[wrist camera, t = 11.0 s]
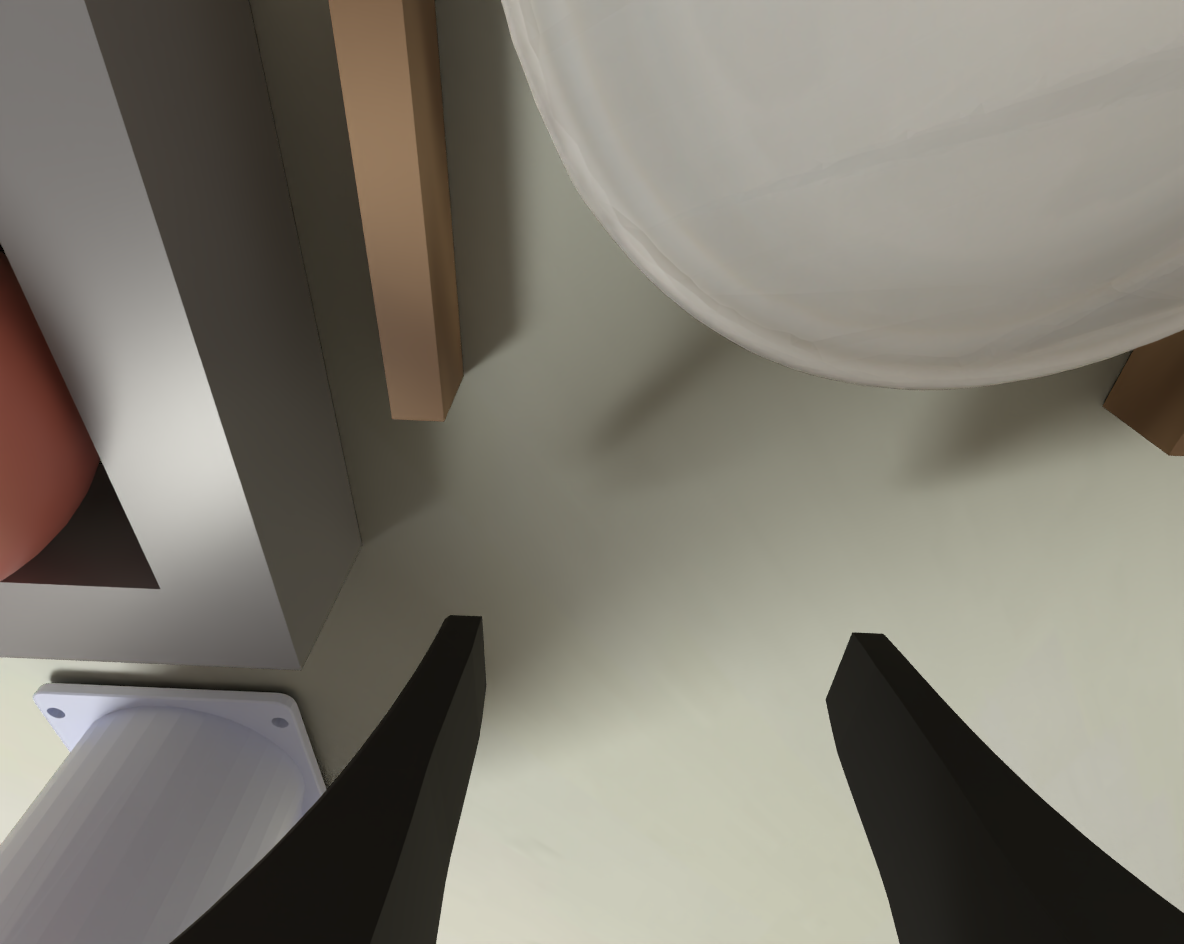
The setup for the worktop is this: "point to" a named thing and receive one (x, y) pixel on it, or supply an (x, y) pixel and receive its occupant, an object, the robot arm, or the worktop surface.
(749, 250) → the ramekin
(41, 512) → the salmon pink ball
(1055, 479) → the worktop surface
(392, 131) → the bent wooden slat
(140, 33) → the base
